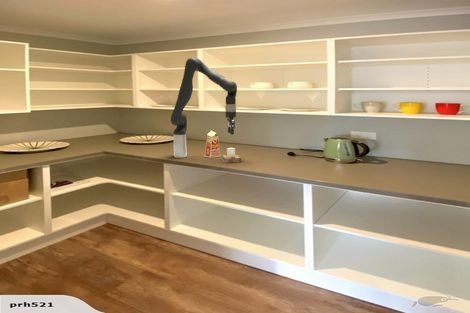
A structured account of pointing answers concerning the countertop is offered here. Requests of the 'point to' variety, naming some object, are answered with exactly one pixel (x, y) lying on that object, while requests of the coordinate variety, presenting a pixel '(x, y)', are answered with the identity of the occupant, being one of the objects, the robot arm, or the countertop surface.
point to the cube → (230, 152)
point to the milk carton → (212, 145)
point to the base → (230, 159)
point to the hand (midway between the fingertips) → (230, 133)
